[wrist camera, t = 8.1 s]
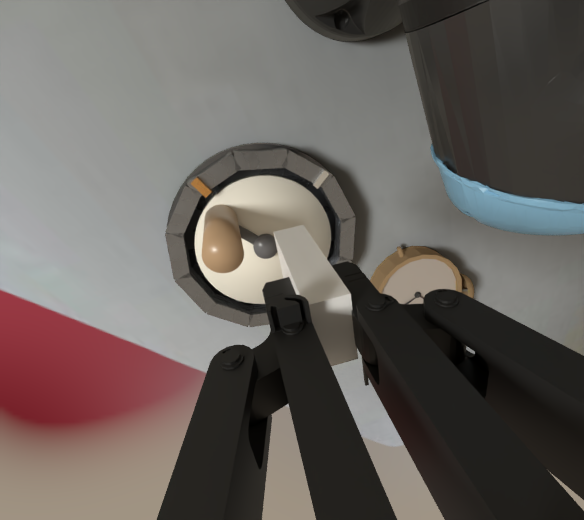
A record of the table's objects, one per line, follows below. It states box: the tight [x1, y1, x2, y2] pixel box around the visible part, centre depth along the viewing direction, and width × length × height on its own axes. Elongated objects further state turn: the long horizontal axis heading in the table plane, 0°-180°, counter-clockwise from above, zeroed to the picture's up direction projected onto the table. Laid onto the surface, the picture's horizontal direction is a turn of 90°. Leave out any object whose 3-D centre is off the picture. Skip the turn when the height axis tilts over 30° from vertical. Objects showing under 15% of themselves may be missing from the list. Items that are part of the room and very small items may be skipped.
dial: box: [195, 174, 331, 304], centre depth 32 cm, size 14×14×10 cm
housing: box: [165, 143, 356, 327], centre depth 36 cm, size 20×20×4 cm
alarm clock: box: [370, 246, 474, 304], centre depth 44 cm, size 11×5×15 cm
